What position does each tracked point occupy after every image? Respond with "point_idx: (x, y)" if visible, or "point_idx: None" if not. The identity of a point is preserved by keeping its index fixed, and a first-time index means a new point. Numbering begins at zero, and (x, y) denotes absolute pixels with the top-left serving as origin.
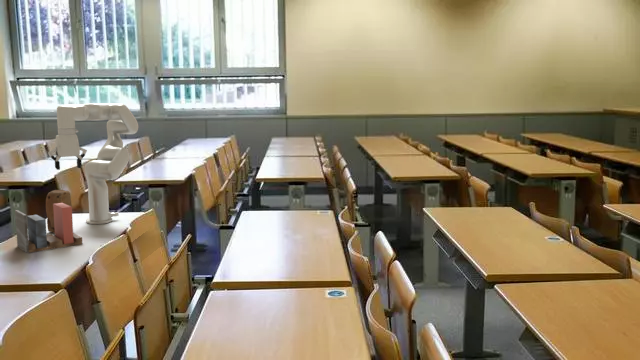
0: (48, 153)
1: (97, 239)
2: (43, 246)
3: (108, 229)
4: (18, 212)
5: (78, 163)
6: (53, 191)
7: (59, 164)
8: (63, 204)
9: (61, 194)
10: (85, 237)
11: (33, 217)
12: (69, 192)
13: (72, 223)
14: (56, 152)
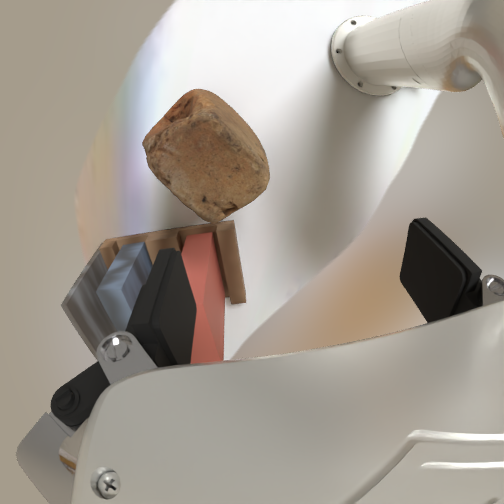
0: (28, 447)
1: (290, 267)
2: None
3: (357, 175)
4: (78, 332)
5: (424, 294)
6: (172, 166)
7: (189, 351)
8: (203, 332)
9: (211, 222)
10: (270, 234)
11: (117, 319)
12: (265, 189)
13: (223, 329)
14: (104, 443)
